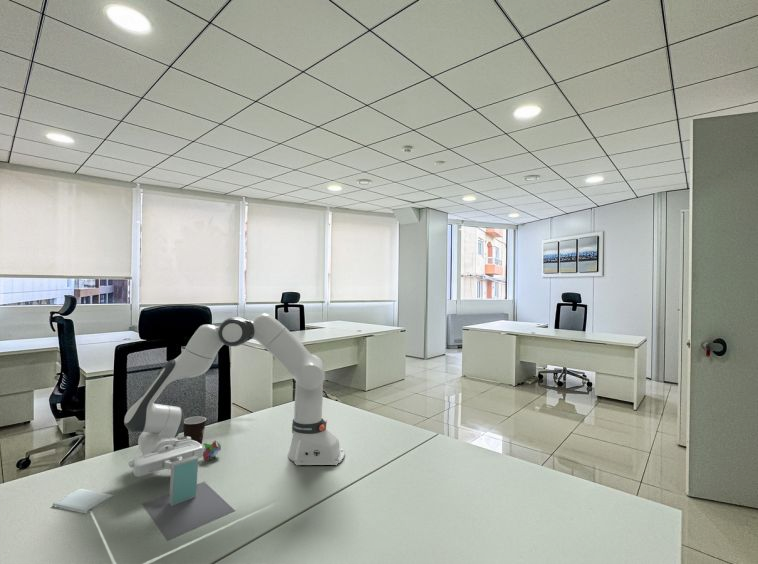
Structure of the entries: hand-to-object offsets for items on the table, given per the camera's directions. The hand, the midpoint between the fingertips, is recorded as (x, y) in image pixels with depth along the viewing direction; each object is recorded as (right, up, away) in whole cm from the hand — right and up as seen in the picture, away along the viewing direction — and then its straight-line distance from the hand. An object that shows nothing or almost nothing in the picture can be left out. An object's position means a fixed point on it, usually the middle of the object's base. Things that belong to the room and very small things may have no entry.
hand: (177, 466), depth 114 cm
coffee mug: (-13, -9, +37) cm, 40 cm away
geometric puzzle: (-1, -9, +23) cm, 25 cm away
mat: (+7, -9, -8) cm, 14 cm away
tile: (+4, -8, -4) cm, 10 cm away
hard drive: (-25, -8, -6) cm, 27 cm away
